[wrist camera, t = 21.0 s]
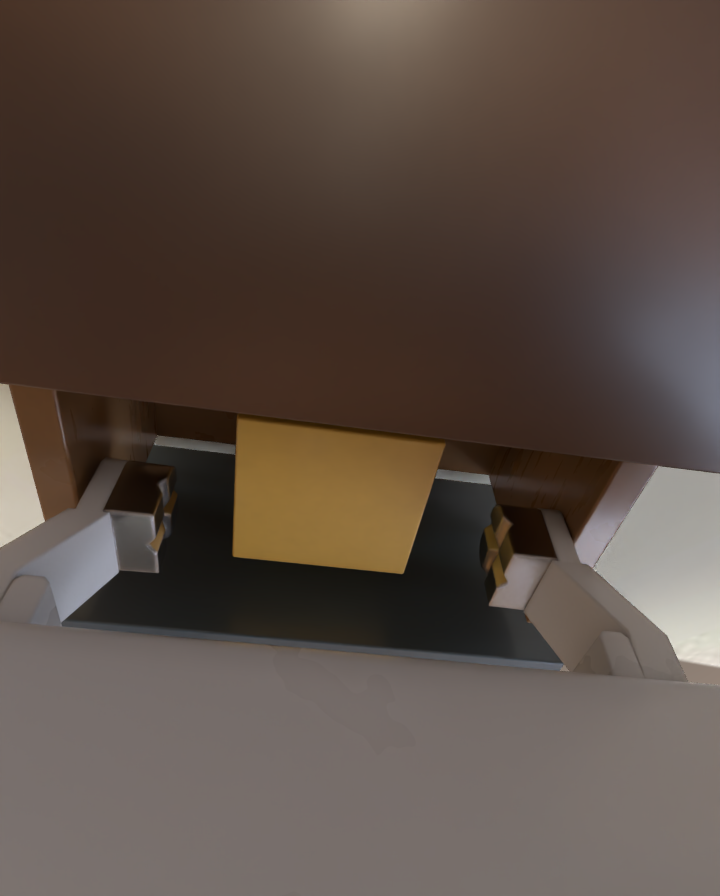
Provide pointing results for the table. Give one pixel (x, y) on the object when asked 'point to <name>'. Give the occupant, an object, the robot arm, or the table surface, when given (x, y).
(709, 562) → the table surface
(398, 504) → the block
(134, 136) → the cabinet
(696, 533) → the table surface
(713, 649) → the table surface
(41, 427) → the drawer
